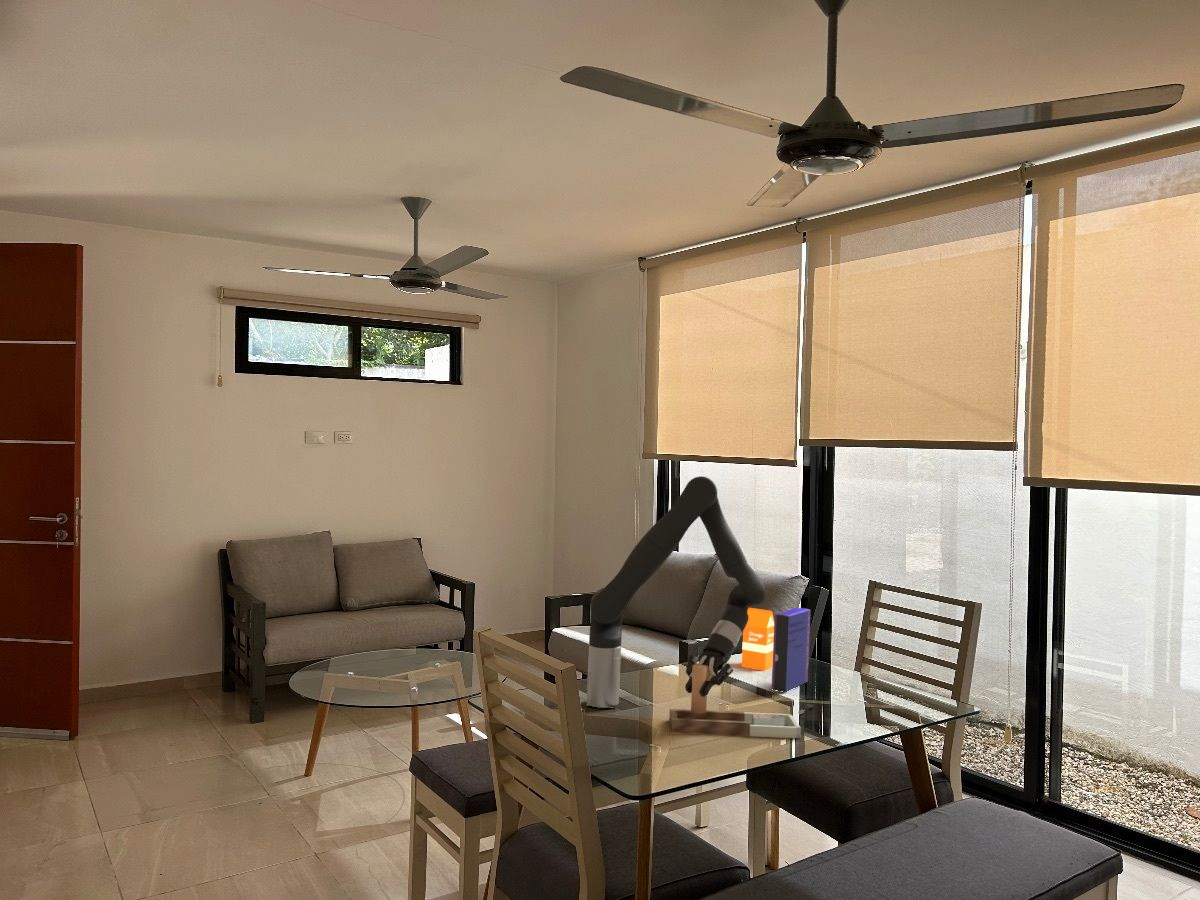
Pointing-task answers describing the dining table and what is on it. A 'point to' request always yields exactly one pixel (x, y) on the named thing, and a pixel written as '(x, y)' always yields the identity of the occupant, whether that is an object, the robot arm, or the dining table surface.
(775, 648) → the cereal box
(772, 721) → the gray cube
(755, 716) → the light grey cube
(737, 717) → the slot board
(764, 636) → the orange juice
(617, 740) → the dining table surface
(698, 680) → the orange rounded cylinder
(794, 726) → the tray
